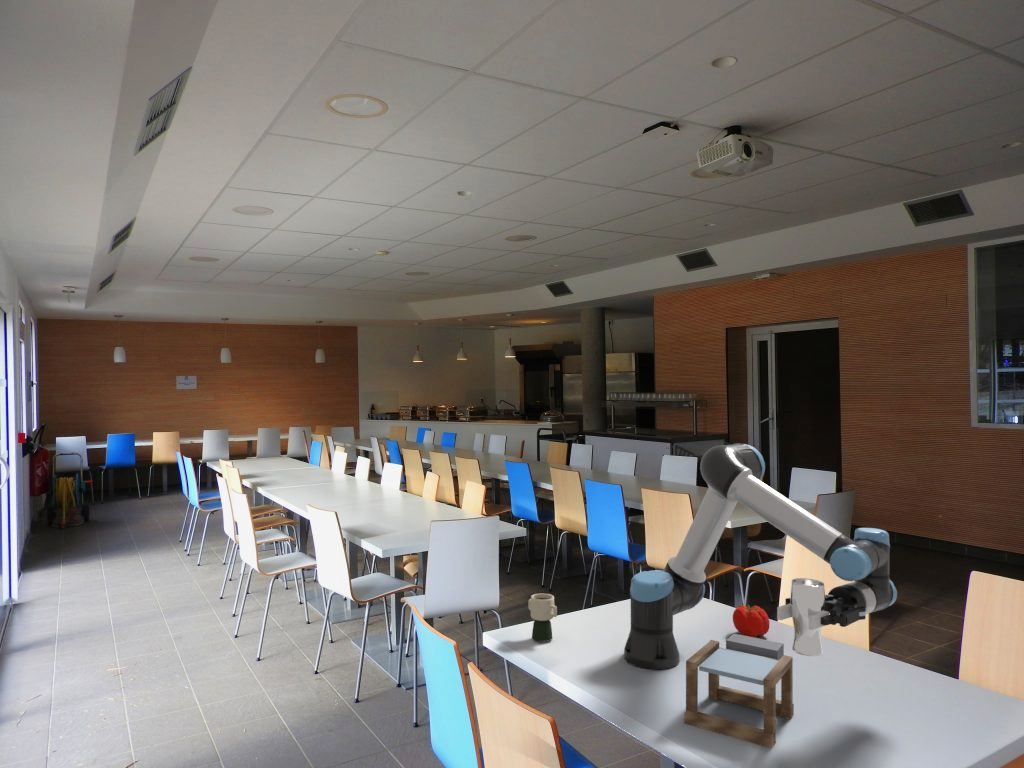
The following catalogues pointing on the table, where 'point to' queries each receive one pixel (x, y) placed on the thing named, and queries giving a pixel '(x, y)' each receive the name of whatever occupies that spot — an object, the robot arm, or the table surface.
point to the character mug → (542, 615)
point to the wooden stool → (740, 699)
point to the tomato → (751, 621)
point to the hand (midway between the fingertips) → (794, 618)
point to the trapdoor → (744, 659)
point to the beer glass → (806, 615)
